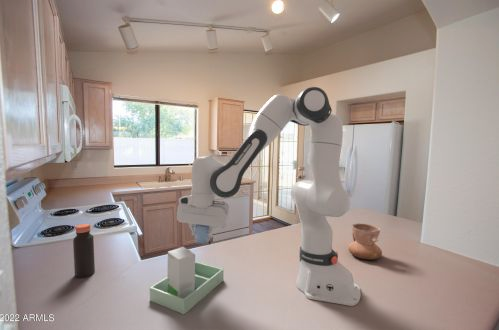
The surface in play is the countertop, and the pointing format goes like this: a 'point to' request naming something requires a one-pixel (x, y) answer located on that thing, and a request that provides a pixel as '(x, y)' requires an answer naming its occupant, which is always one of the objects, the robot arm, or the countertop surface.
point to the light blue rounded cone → (201, 234)
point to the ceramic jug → (365, 242)
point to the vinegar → (83, 251)
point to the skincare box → (181, 272)
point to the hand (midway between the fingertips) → (202, 236)
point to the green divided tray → (204, 283)
